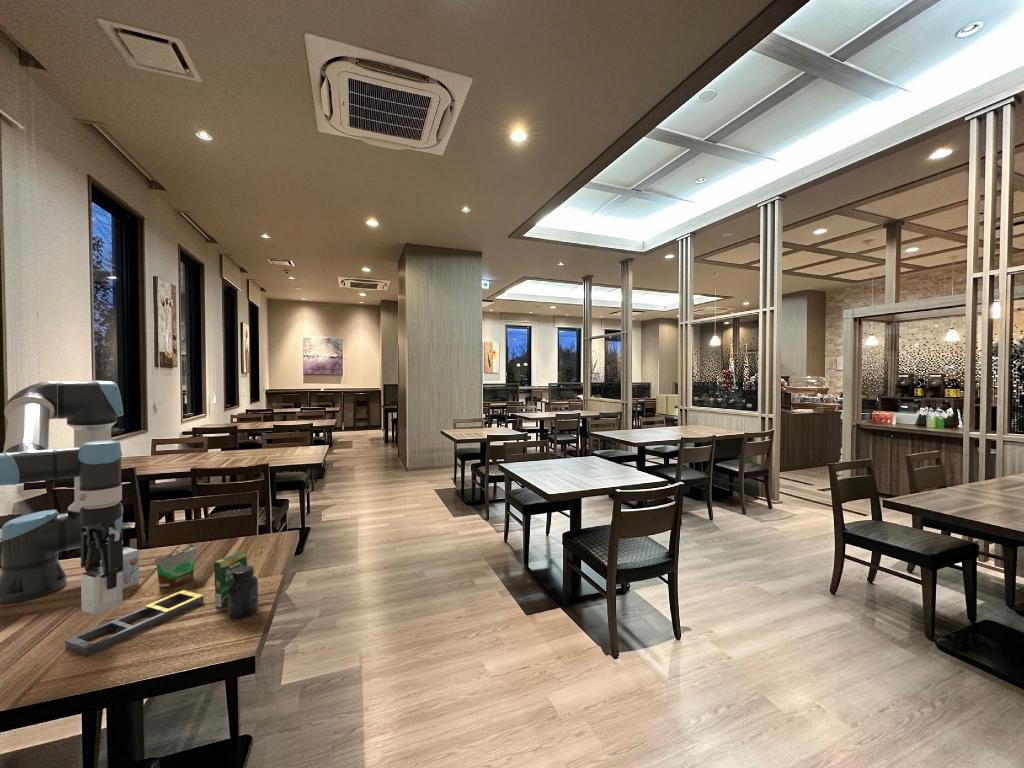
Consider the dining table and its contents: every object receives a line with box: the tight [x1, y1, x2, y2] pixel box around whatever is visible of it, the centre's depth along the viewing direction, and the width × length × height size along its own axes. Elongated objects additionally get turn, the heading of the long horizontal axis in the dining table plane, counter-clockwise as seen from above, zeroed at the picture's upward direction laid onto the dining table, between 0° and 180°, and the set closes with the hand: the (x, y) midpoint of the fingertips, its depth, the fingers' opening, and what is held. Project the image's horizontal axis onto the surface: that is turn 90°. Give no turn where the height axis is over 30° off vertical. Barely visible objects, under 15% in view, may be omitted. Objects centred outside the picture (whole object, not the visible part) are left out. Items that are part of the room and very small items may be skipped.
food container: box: [154, 543, 199, 590], centre depth 136 cm, size 12×6×10 cm, turn 168°
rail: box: [64, 589, 205, 657], centre depth 113 cm, size 9×26×2 cm, turn 158°
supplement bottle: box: [228, 565, 259, 620], centre depth 117 cm, size 7×7×12 cm
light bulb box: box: [85, 546, 140, 590], centre depth 132 cm, size 11×7×11 cm, turn 161°
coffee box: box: [213, 551, 248, 610], centre depth 123 cm, size 8×3×13 cm, turn 157°
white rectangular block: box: [80, 567, 123, 616], centre depth 106 cm, size 6×6×9 cm
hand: (102, 598), depth 106 cm, fingers closed on white rectangular block, 5 cm apart
